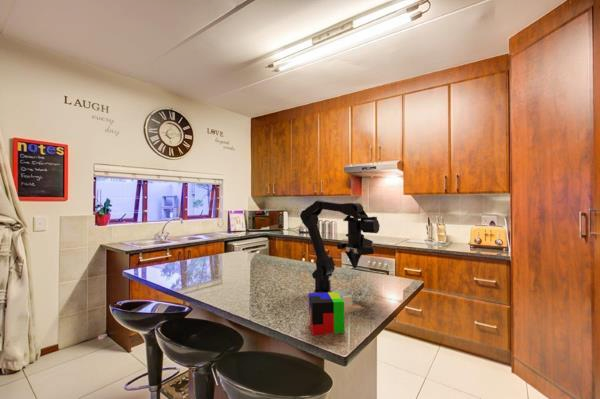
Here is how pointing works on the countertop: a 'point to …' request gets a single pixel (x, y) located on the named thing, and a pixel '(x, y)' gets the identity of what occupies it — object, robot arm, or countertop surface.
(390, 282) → the countertop surface
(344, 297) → the pillar
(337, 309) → the puzzle toy
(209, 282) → the countertop surface
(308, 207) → the robot arm
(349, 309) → the mat
